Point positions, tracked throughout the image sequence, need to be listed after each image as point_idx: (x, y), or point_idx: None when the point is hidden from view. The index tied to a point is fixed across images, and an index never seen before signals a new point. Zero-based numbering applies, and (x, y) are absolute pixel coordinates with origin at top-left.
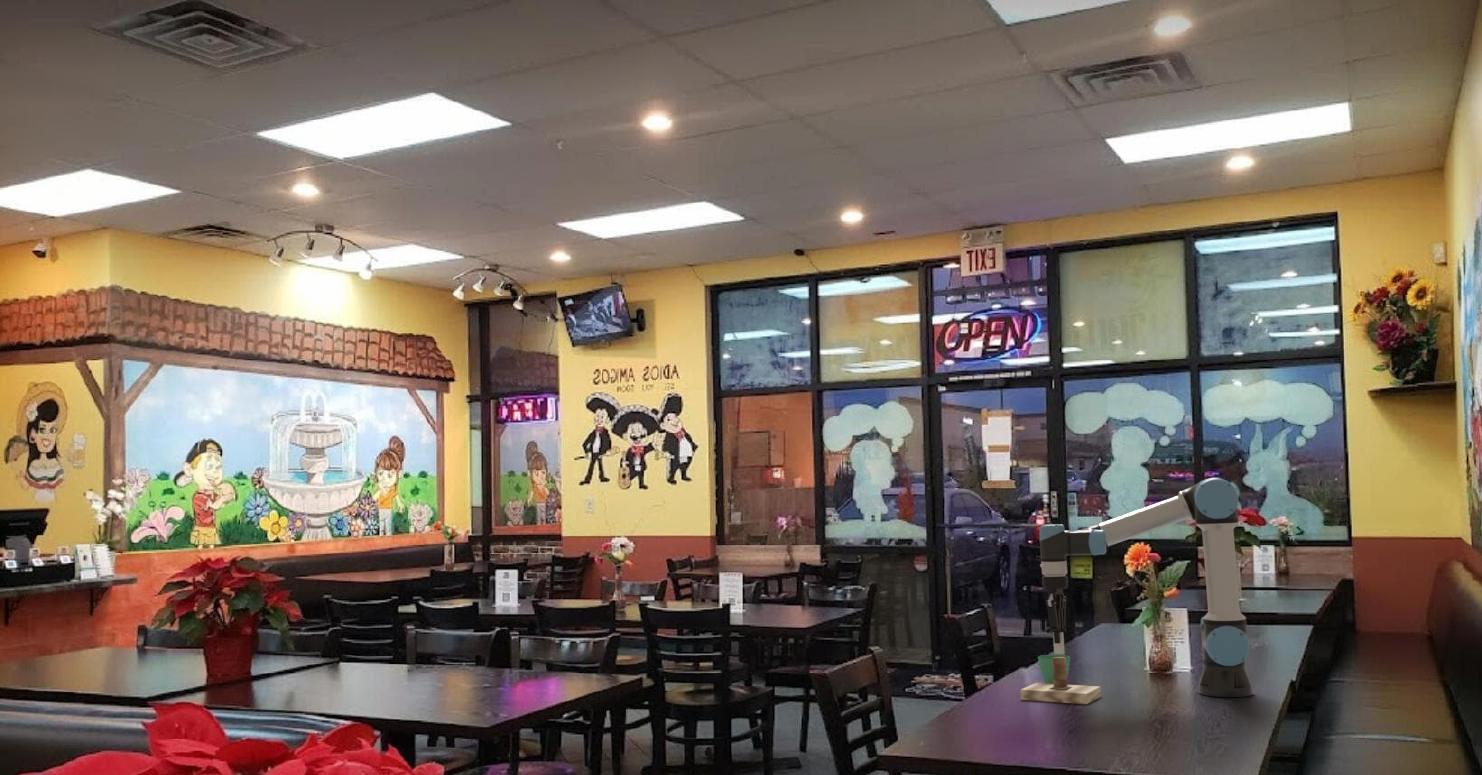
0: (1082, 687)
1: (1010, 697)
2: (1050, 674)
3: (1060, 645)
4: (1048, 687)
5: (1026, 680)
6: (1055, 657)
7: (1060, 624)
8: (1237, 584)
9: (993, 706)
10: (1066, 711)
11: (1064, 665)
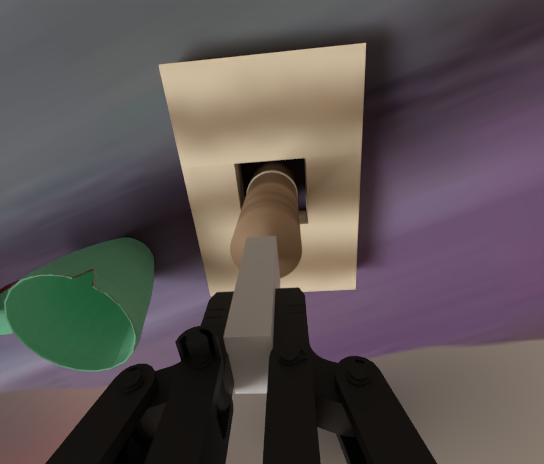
0: (220, 126)
1: (325, 304)
2: (149, 285)
3: (275, 277)
4: None
5: None
6: None
7: (273, 417)
8: None
9: (481, 291)
10: (539, 55)
11: (278, 205)
